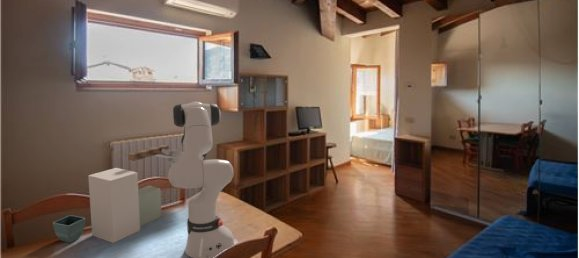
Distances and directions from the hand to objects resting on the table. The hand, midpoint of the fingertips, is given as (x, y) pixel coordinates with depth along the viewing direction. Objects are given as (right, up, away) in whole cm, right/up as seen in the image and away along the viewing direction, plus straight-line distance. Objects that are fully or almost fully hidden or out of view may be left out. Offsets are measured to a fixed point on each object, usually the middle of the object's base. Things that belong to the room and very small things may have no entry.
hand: (157, 149), depth 180 cm
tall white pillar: (-12, -37, -17) cm, 43 cm away
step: (-6, -35, -3) cm, 36 cm away
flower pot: (-29, -38, -24) cm, 54 cm away
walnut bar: (-2, -3, -4) cm, 6 cm away
